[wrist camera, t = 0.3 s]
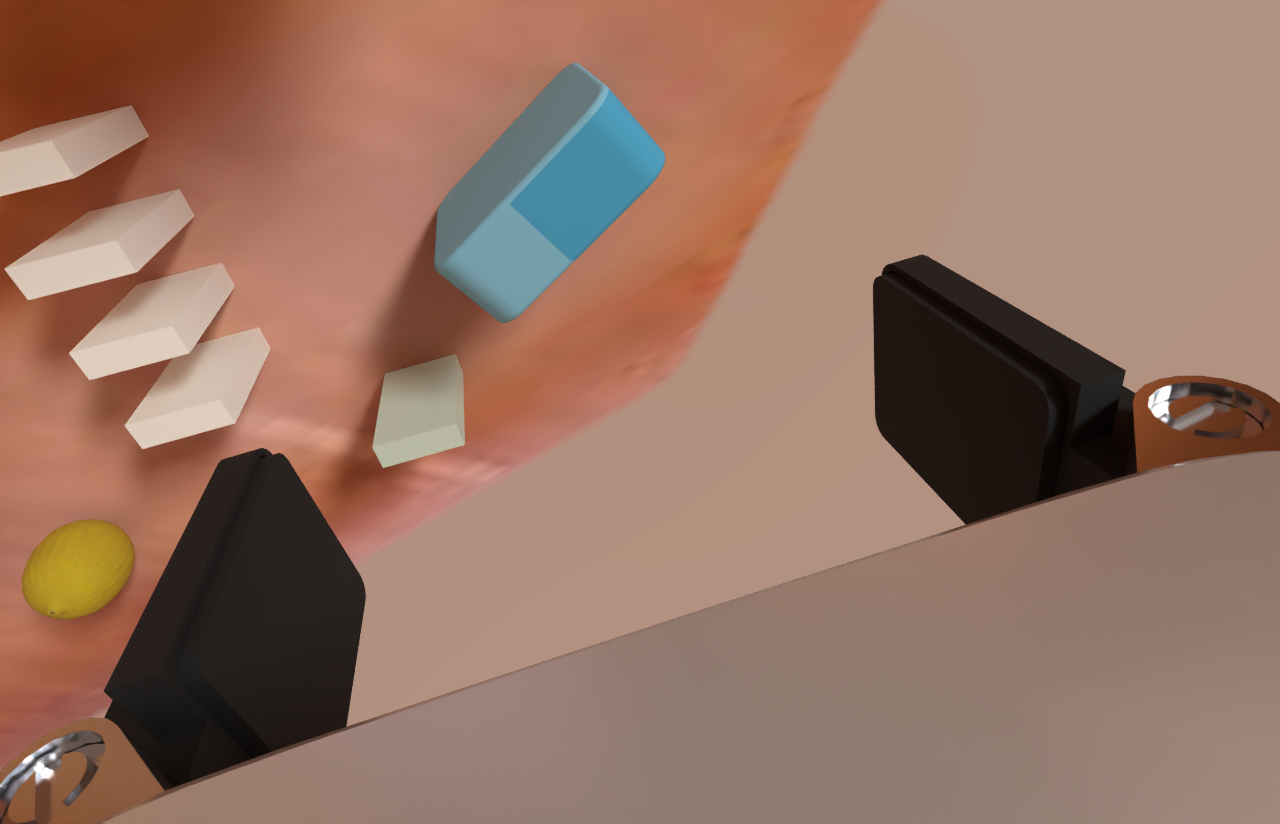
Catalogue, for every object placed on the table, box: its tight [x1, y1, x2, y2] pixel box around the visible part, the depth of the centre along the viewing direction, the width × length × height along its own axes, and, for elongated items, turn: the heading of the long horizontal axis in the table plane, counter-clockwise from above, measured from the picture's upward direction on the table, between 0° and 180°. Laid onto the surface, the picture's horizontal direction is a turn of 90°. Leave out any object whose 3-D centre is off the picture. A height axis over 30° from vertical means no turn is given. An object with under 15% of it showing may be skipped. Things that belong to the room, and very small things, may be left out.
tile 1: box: [0, 105, 149, 196], centre depth 33 cm, size 2×5×9 cm, turn 102°
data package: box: [434, 63, 665, 323], centre depth 38 cm, size 12×4×12 cm, turn 133°
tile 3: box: [69, 262, 235, 380], centre depth 38 cm, size 2×5×9 cm, turn 102°
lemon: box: [22, 519, 135, 619], centre depth 46 cm, size 6×6×8 cm
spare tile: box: [372, 354, 465, 468], centre depth 45 cm, size 2×5×9 cm, turn 102°
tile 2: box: [5, 189, 195, 300], centre depth 36 cm, size 2×5×9 cm, turn 102°
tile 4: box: [125, 327, 271, 449], centre depth 41 cm, size 2×5×9 cm, turn 102°
